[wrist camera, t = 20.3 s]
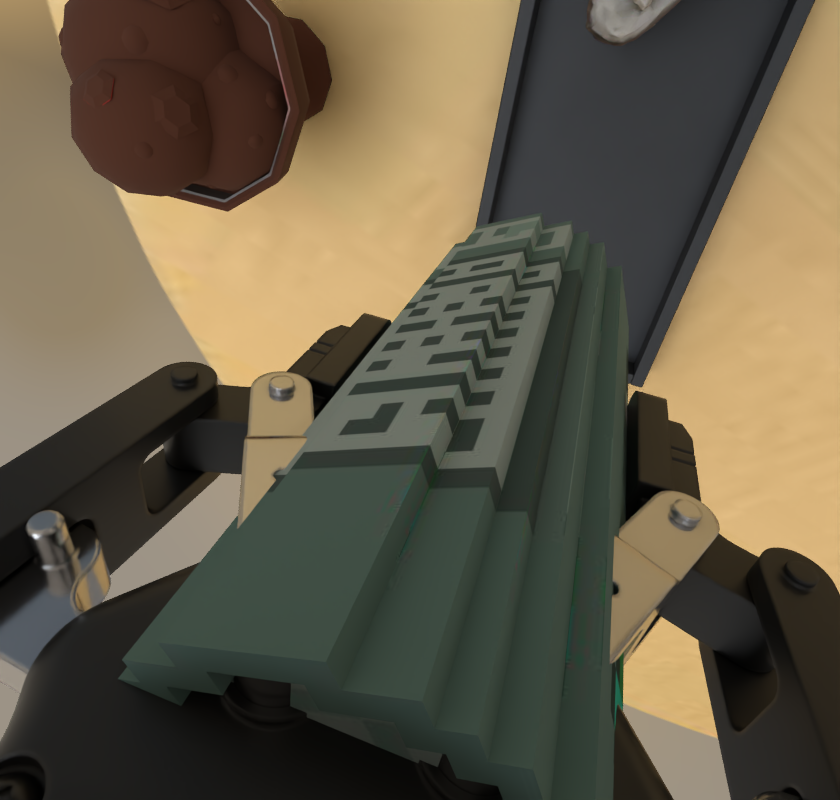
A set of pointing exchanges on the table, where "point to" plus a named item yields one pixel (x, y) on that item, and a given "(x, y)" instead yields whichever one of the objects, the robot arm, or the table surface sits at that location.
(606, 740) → the can
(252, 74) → the ice cream bowl
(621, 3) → the flask
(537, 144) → the tray
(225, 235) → the table surface
